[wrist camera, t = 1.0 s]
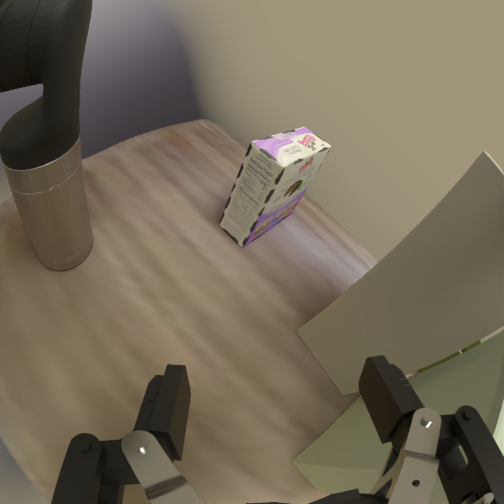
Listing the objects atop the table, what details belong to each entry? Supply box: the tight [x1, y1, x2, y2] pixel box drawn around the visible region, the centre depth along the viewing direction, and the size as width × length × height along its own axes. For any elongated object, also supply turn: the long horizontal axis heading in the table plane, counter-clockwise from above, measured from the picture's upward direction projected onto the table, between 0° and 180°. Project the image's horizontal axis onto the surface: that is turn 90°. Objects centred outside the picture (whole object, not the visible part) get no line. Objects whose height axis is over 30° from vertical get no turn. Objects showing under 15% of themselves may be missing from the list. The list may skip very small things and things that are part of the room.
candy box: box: [219, 127, 331, 247], centre depth 41 cm, size 14×6×16 cm, turn 138°
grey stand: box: [296, 151, 504, 396], centre depth 26 cm, size 12×12×33 cm
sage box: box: [291, 330, 504, 504], centre depth 19 cm, size 6×15×25 cm, turn 126°
